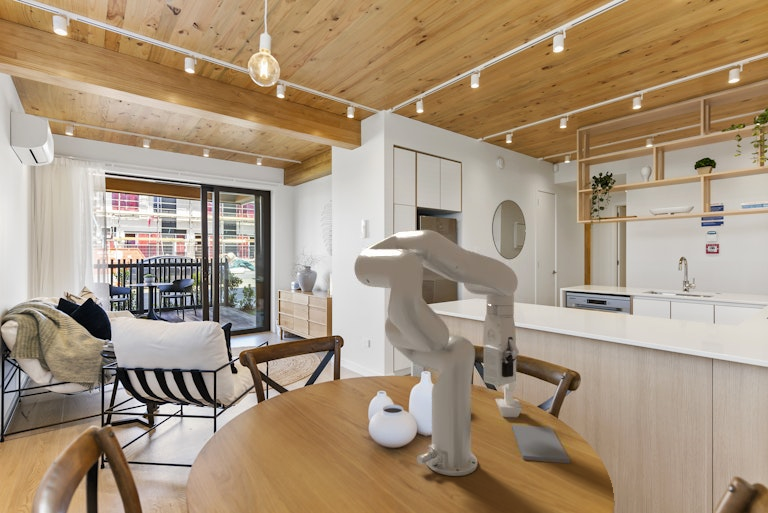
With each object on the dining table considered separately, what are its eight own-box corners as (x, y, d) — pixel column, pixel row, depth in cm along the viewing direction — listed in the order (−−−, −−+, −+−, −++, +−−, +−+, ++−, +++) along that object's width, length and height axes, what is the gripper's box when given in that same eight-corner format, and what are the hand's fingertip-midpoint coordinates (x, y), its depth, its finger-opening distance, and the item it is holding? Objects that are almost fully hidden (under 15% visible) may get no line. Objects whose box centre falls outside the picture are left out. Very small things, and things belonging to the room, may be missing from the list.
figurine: (516, 408, 130) (516, 363, 130) (524, 421, 121) (524, 372, 121) (494, 408, 131) (494, 363, 131) (500, 420, 121) (500, 372, 121)
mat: (569, 463, 97) (569, 459, 97) (523, 459, 98) (523, 455, 98) (550, 430, 114) (550, 427, 114) (511, 428, 116) (511, 424, 116)
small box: (500, 376, 117) (500, 341, 117) (516, 381, 113) (516, 345, 113) (482, 381, 113) (482, 345, 113) (498, 387, 108) (498, 349, 108)
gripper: (473, 307, 120) (472, 365, 120) (506, 315, 103) (506, 383, 103) (494, 306, 122) (494, 363, 122) (530, 314, 105) (530, 380, 105)
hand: (499, 372), depth 113 cm, fingers closed on small box, 6 cm apart
